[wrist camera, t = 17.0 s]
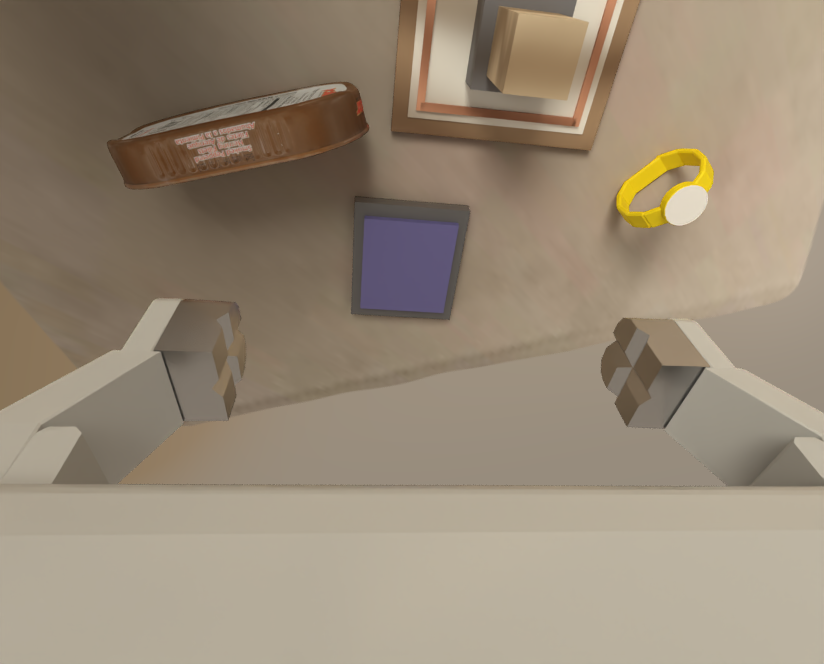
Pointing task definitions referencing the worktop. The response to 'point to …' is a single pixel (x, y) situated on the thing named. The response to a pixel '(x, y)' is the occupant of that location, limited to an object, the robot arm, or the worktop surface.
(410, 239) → the ink pad
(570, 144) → the board
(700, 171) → the watch
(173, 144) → the tin
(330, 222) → the worktop surface
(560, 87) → the stamp
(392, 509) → the robot arm
